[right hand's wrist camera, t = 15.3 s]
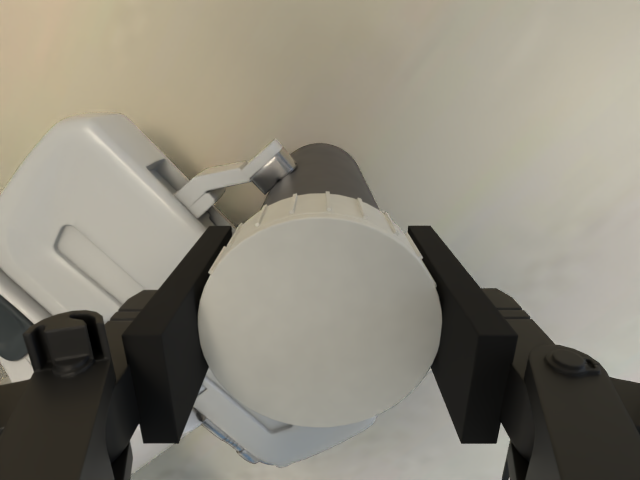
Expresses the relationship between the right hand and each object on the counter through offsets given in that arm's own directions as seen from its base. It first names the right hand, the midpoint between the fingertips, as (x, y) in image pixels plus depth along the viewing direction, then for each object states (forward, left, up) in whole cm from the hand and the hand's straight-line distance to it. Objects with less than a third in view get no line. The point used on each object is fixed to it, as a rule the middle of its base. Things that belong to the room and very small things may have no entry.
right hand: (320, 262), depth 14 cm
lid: (0, 0, +4) cm, 4 cm away
